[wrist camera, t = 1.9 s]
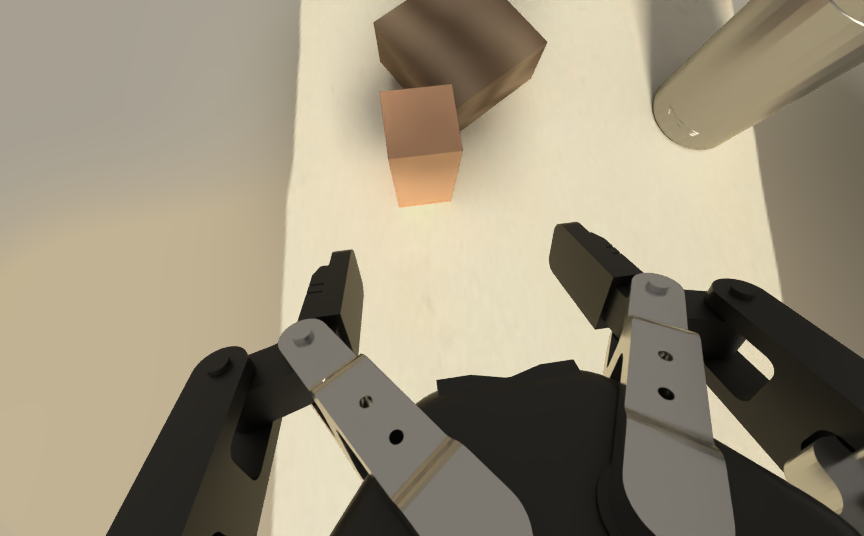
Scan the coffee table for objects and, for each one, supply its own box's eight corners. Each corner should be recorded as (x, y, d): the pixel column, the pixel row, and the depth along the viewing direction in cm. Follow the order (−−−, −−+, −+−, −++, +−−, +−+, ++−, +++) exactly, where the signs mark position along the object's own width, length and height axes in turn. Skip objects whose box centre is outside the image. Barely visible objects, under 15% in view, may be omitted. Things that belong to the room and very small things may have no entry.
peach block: (443, 153, 33) (451, 84, 23) (450, 201, 32) (462, 150, 22) (393, 159, 33) (379, 91, 23) (399, 207, 32) (388, 159, 22)
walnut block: (462, 8, 36) (468, -41, 31) (529, 80, 35) (547, 42, 30) (380, 63, 35) (373, 22, 30) (448, 141, 33) (452, 111, 28)
